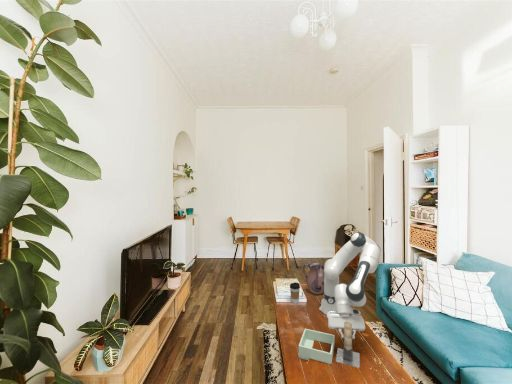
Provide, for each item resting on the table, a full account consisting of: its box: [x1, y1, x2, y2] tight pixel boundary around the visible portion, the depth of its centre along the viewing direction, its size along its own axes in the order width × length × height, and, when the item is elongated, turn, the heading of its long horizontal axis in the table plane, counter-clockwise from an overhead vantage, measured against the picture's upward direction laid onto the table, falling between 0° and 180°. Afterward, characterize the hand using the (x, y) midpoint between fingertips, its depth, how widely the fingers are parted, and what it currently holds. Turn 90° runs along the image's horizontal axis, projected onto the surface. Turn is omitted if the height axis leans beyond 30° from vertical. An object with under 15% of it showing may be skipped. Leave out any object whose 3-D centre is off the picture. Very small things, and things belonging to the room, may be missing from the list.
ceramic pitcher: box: [302, 262, 324, 295], centre depth 222 cm, size 18×21×25 cm
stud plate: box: [335, 347, 361, 369], centre depth 137 cm, size 12×12×6 cm
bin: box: [298, 328, 336, 365], centre depth 143 cm, size 18×18×7 cm
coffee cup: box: [289, 282, 301, 304], centre depth 204 cm, size 8×8×15 cm
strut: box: [342, 322, 354, 361], centre depth 136 cm, size 5×5×19 cm
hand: (348, 338), depth 136 cm, fingers closed on strut, 4 cm apart
